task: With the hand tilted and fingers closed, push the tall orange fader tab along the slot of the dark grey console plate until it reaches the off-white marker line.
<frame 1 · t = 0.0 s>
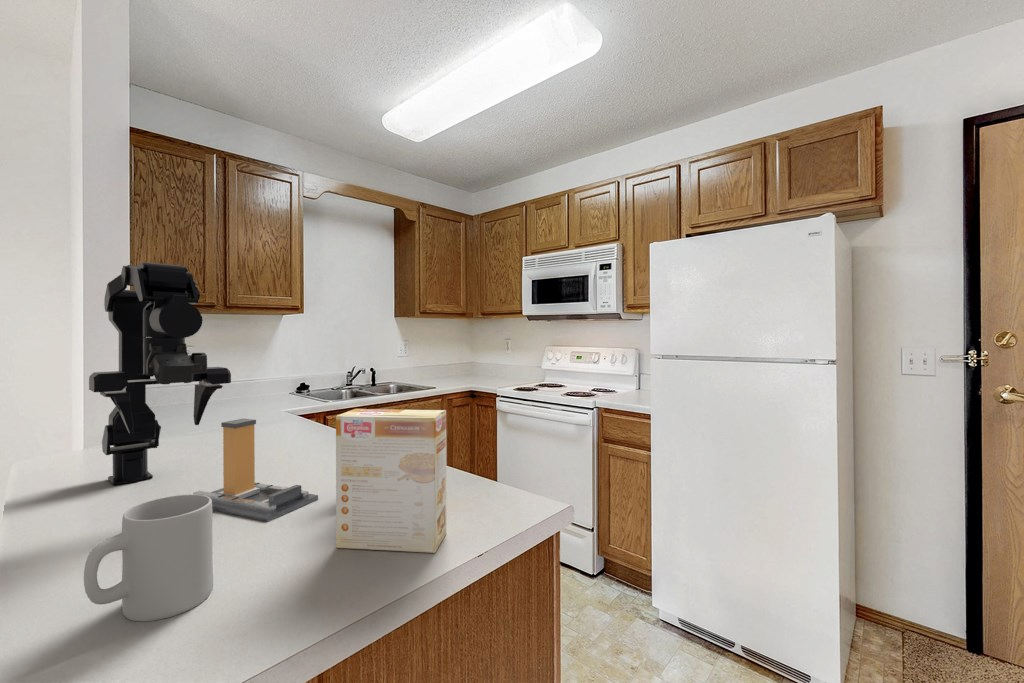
hand: (165, 428, 79), 15 cm above the counter, tool pointing down, fingers open, 9 cm apart
console plate: (253, 502, 85), on the counter
coffeecake box: (393, 542, 70), on the counter
mug: (152, 609, 53), on the counter
fader tab: (239, 457, 86), point 8 cm above the counter, slide at 0.0 cm
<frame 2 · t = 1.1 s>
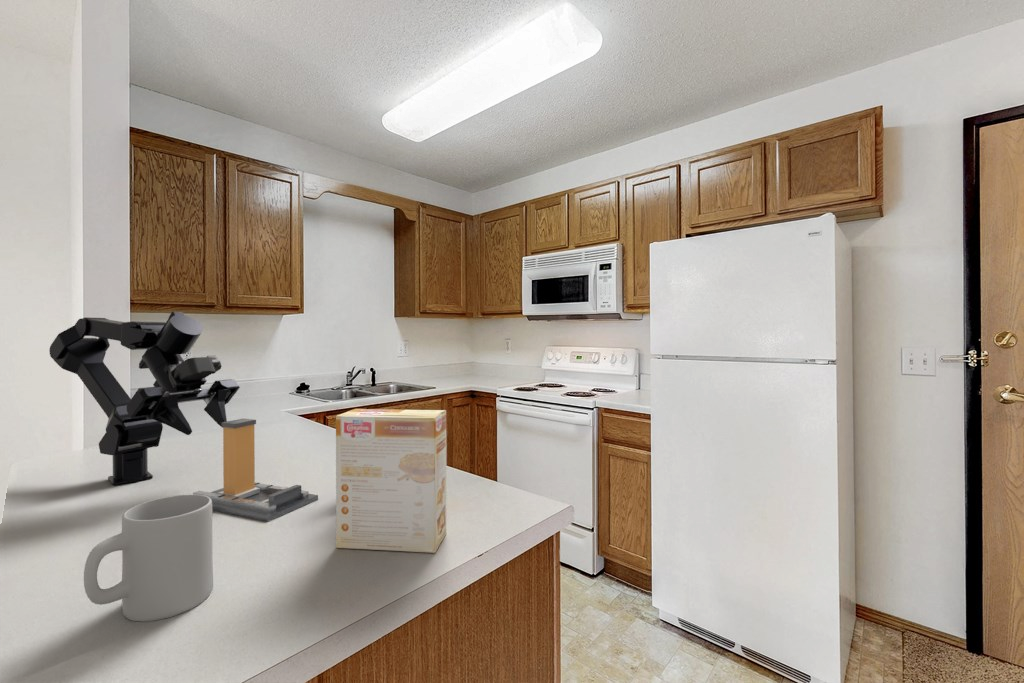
hand: (208, 429, 89), 12 cm above the counter, tool tilted 45°, fingers open, 7 cm apart
nothing on the counter moved.
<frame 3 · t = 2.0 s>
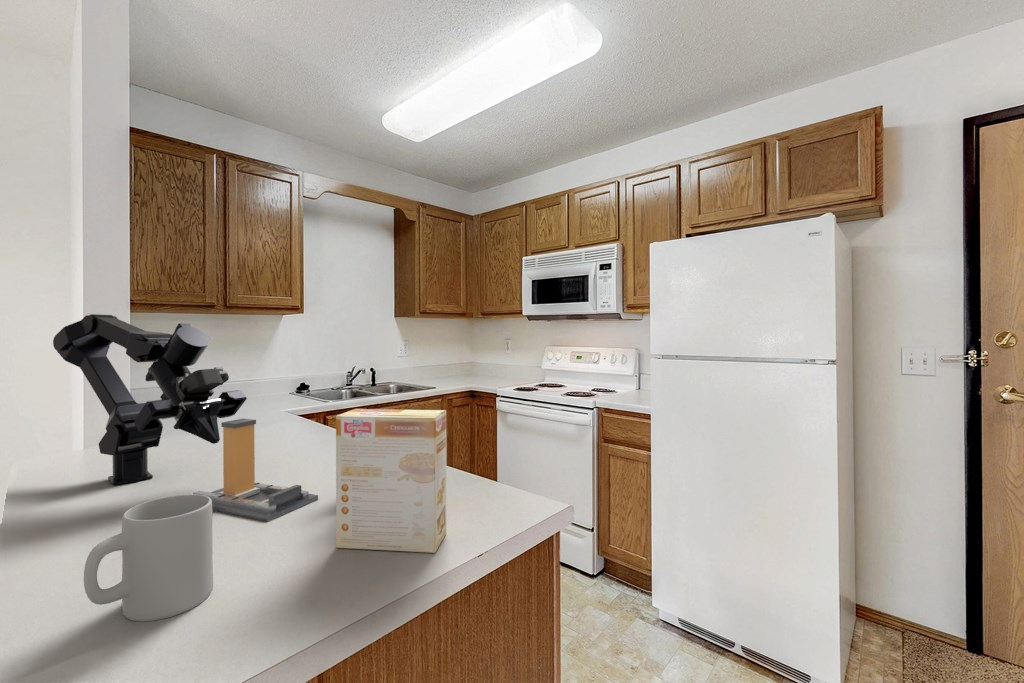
hand: (216, 442, 88), 10 cm above the counter, tool tilted 45°, fingers closed
nothing on the counter moved.
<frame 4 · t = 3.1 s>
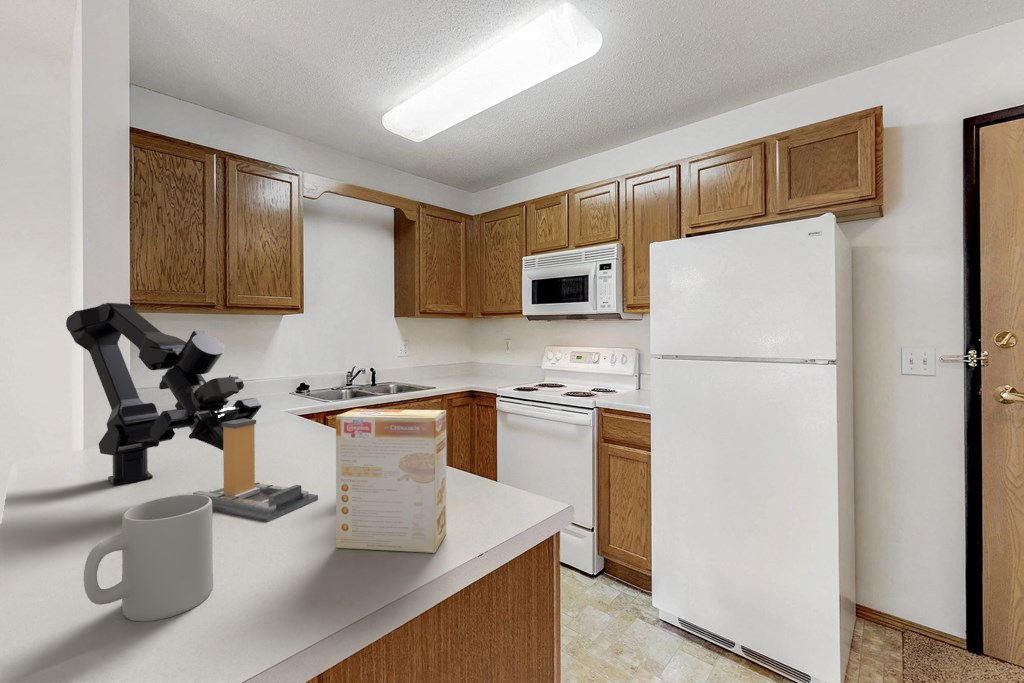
hand: (232, 451, 87), 9 cm above the counter, tool tilted 45°, fingers closed, pressing on fader tab
fader tab: (239, 457, 86), point 8 cm above the counter, slide at 0.0 cm, touching gripper
everything else where it was.
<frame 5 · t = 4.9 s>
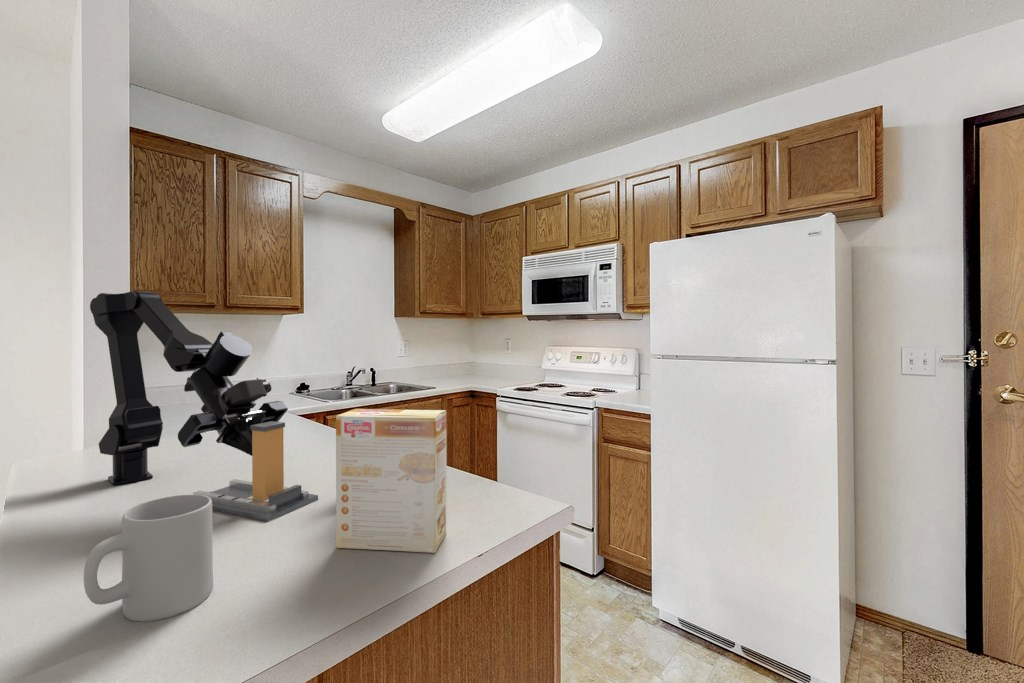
hand: (260, 456, 84), 9 cm above the counter, tool tilted 45°, fingers closed, pressing on fader tab
fader tab: (268, 462, 84), point 8 cm above the counter, slide at 7.3 cm, touching gripper
everything else where it was.
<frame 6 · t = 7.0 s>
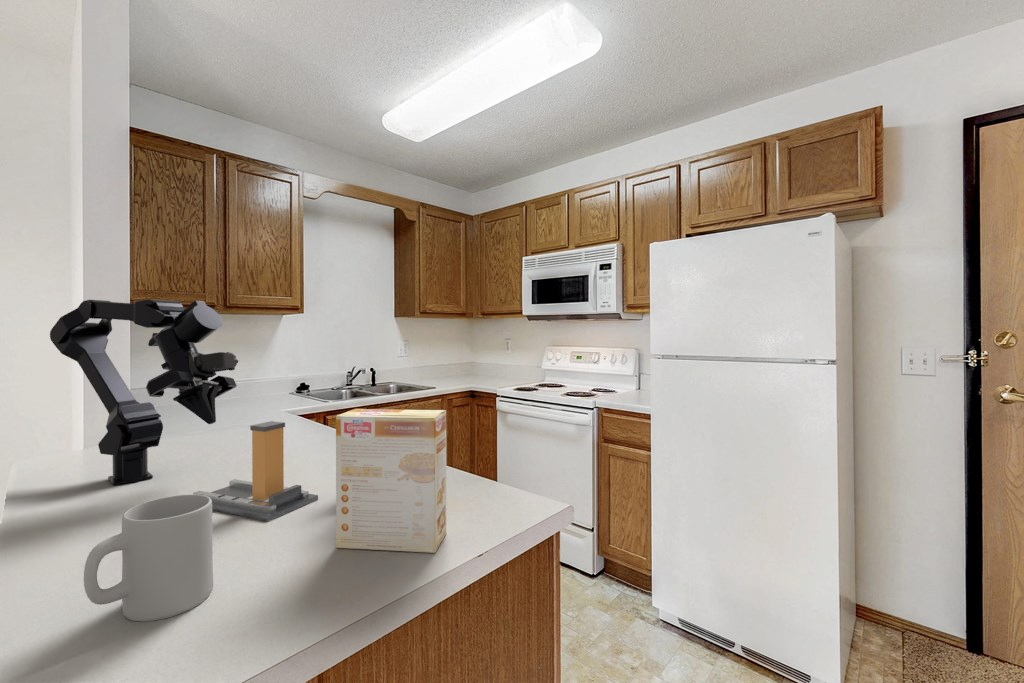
hand: (212, 423, 91), 13 cm above the counter, tool tilted 30°, fingers closed
fader tab: (268, 462, 84), point 8 cm above the counter, slide at 7.3 cm
everything else where it was.
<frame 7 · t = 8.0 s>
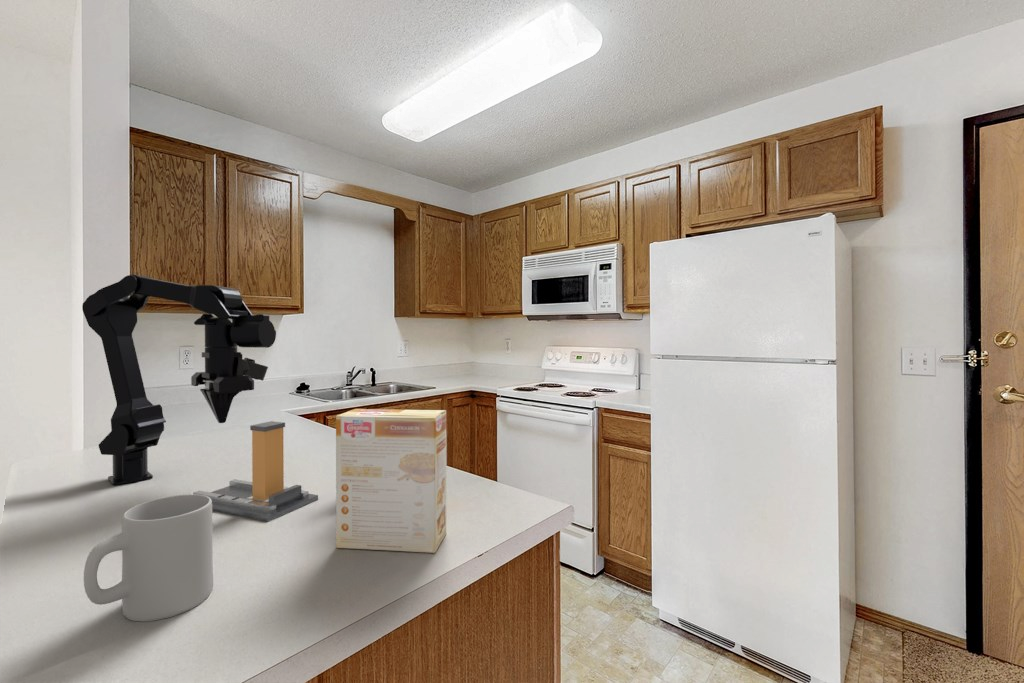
hand: (221, 422, 96), 13 cm above the counter, tool pointing down, fingers closed
nothing on the counter moved.
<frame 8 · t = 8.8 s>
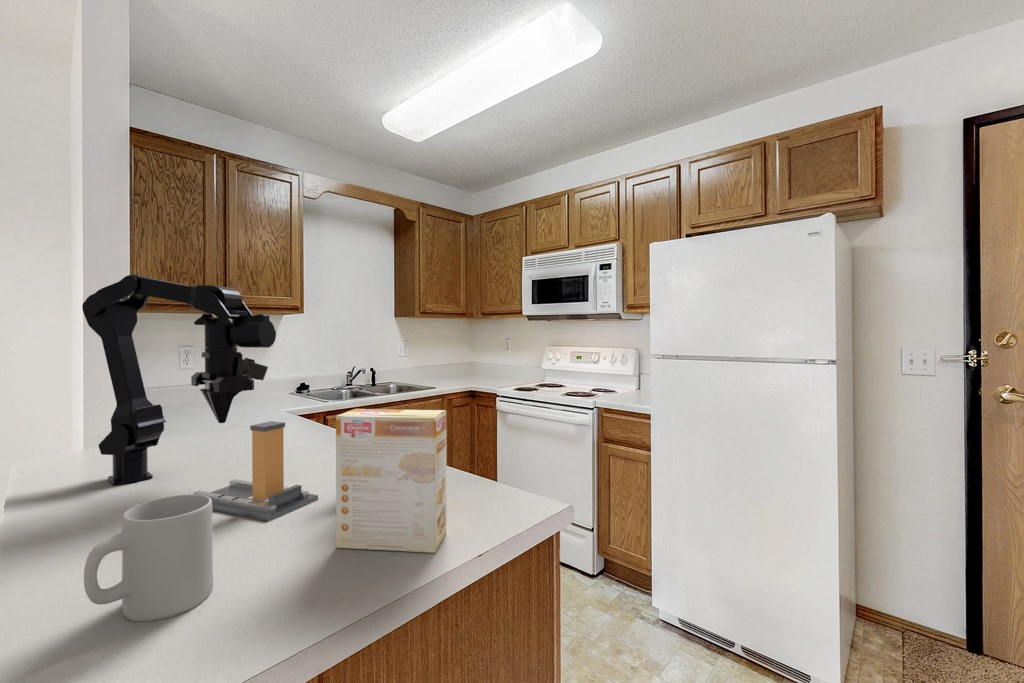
hand: (221, 422, 96), 13 cm above the counter, tool pointing down, fingers closed
nothing on the counter moved.
at the end: fader tab slide at 7.3 cm; the gripper is holding nothing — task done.
